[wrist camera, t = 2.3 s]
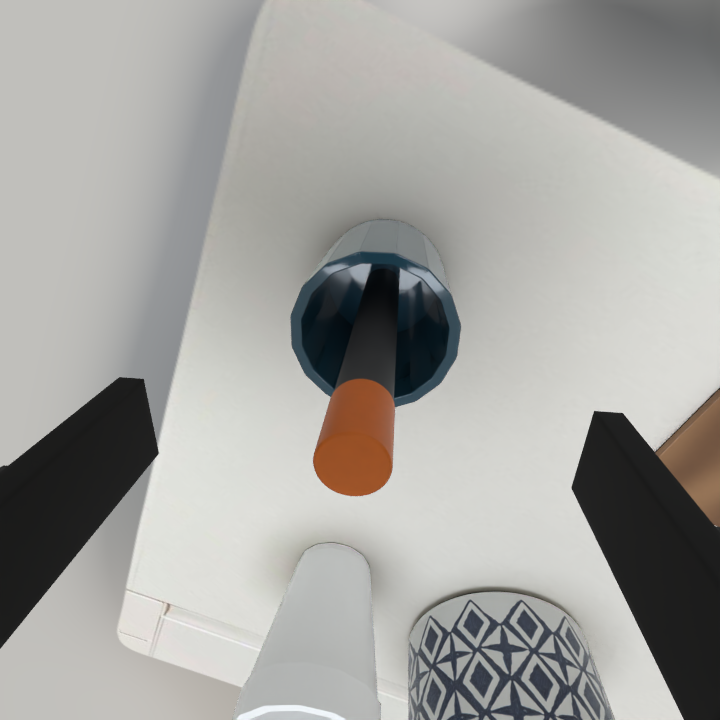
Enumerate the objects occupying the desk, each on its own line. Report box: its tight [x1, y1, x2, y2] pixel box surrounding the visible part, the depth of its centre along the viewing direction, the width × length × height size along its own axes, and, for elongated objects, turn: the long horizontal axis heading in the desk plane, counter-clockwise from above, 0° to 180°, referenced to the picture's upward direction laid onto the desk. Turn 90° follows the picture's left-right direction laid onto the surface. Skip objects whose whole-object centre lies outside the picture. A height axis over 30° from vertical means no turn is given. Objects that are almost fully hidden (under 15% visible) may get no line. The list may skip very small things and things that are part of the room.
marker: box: [313, 268, 399, 496], centre depth 19 cm, size 2×2×17 cm
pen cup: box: [291, 219, 461, 407], centre depth 24 cm, size 7×7×9 cm
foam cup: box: [232, 543, 381, 720], centre depth 33 cm, size 10×9×13 cm
